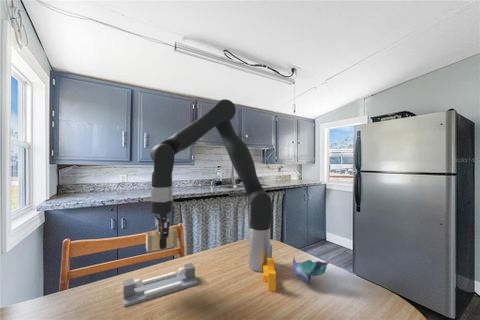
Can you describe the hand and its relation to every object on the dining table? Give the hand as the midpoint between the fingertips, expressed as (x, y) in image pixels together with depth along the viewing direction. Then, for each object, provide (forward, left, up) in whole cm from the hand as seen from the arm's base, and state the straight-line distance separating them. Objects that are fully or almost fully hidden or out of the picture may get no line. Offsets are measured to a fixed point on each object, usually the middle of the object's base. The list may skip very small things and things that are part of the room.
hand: (161, 245), depth 76 cm
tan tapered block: (0, 0, -1) cm, 1 cm away
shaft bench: (0, 0, -15) cm, 15 cm away
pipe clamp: (-36, +17, -16) cm, 43 cm away
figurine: (-49, +25, -15) cm, 57 cm away
